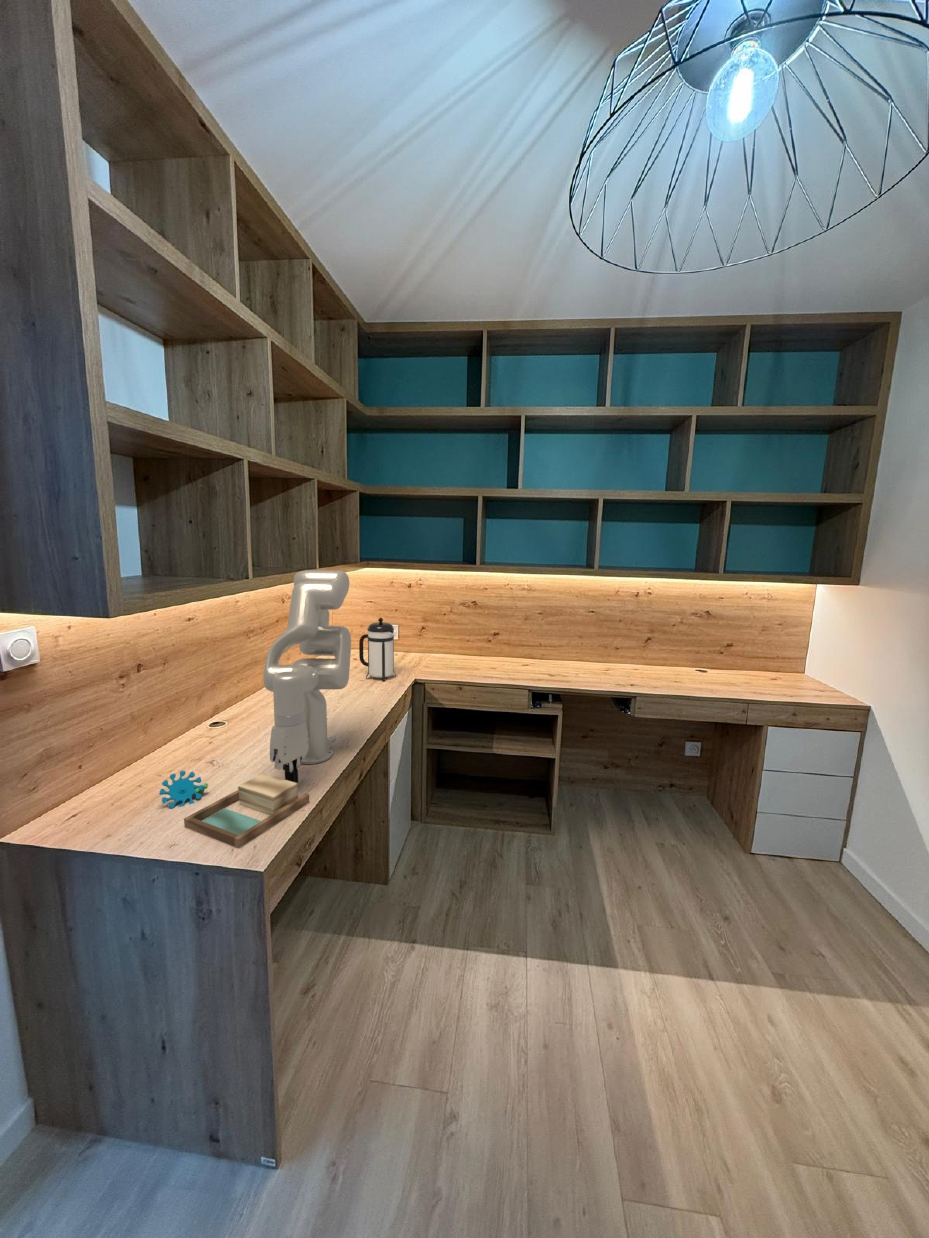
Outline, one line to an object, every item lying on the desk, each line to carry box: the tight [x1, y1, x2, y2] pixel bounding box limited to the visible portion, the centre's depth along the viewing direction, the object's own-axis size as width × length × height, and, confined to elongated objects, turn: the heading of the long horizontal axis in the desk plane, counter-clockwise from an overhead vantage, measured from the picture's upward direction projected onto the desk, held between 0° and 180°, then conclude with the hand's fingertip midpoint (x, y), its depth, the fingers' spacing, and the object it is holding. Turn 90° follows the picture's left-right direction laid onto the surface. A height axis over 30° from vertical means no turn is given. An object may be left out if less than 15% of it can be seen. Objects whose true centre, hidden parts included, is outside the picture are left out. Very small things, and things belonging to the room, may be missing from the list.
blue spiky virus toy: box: [159, 770, 209, 809], centre depth 132 cm, size 11×6×10 cm
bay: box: [183, 789, 310, 849], centre depth 125 cm, size 22×18×3 cm
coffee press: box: [358, 617, 397, 682], centre depth 247 cm, size 17×16×30 cm
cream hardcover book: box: [237, 772, 299, 816], centre depth 130 cm, size 8×12×5 cm
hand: (291, 782), depth 137 cm, fingers closed
